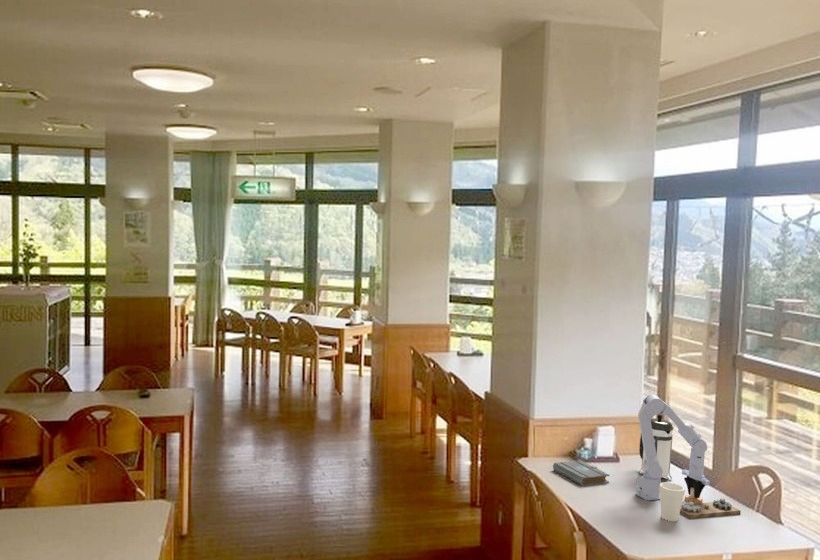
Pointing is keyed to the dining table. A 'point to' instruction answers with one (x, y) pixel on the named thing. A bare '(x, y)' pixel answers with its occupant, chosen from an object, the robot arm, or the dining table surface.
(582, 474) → the book
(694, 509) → the gear
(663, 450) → the coffee press
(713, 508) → the gear board
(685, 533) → the dining table surface
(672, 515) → the foam cup
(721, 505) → the gear
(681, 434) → the robot arm
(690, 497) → the loose gear
